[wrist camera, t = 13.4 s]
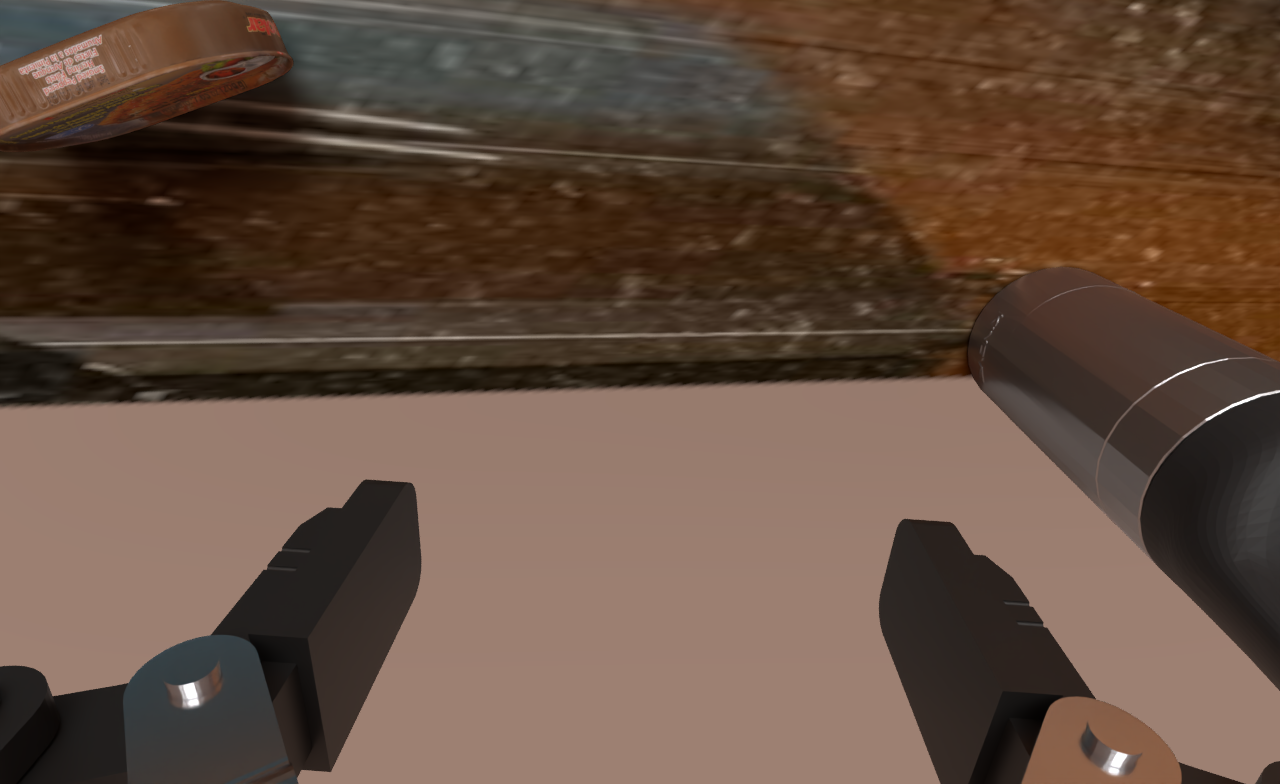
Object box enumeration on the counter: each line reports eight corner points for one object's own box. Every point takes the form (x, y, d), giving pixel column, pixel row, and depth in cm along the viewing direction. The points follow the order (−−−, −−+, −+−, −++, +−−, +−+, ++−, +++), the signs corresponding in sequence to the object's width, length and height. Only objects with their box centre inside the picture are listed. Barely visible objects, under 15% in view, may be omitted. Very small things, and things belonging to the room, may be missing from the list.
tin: (86, 148, 40) (-50, 168, 32) (52, 91, 39) (-98, 97, 31) (324, 64, 38) (239, 64, 30) (295, 0, 37) (200, -18, 29)
